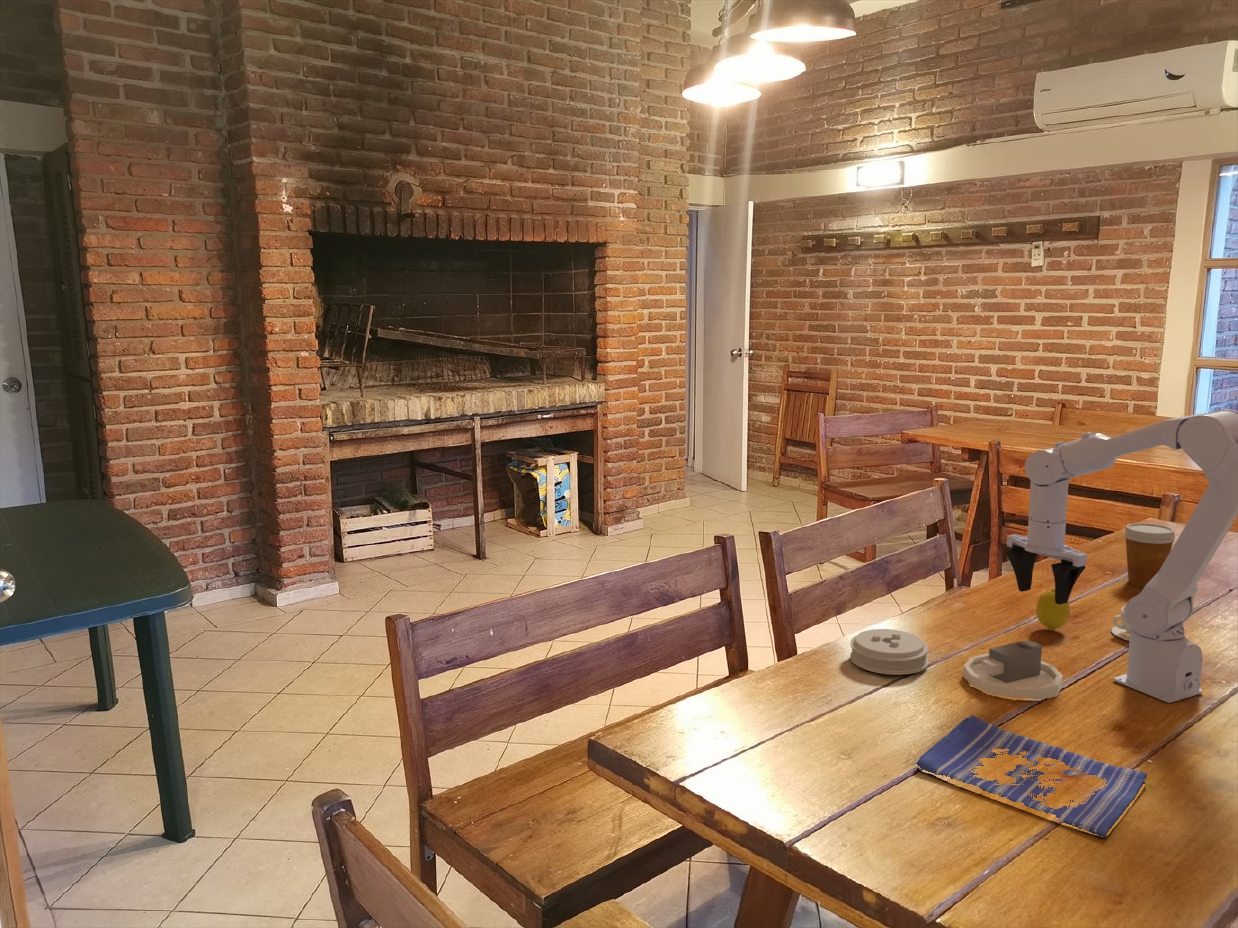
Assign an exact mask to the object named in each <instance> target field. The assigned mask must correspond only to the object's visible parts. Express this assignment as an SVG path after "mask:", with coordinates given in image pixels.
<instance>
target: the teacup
mask: <svg viewBox="0 0 1238 928" xmlns="http://www.w3.org/2000/svg"><path fill="white" fill-rule="evenodd" d="M1125 607H1126V605H1124V606H1122V607H1121V608H1120V614H1117V615H1115V616H1114V617H1113V621H1112V622H1113V624H1114V626H1113V627H1112V628H1111V629H1110V631H1111V633H1112V634H1113V635H1114V636H1115V637H1118V638H1120V639H1123V640H1125V641H1127V642H1130V637H1127V636H1126V635H1124V634H1123V635H1121V634H1119V633H1129V634H1130V629H1131V627H1130V626H1129V624H1128V623H1127V621H1126V618H1125ZM1118 619H1120V620H1121V623H1122V624H1118V622H1117V620H1118Z"/></svg>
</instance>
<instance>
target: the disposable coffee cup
mask: <svg viewBox="0 0 1238 928" xmlns="http://www.w3.org/2000/svg"><path fill="white" fill-rule="evenodd" d="M1122 533H1123V534H1124V537H1125V548H1126V549H1125V550H1126V564H1127V577H1128V578H1127V579H1128V583H1129V584H1130V585H1133V586H1135V587H1139V588H1144V587H1145V586H1146V584H1147V583H1148V582H1149V581H1150V580H1151V579H1152V578H1153V577H1154V576H1155V575H1156V574H1157V573H1158V572H1159V570H1160V569H1161V567H1162V565H1163V563H1164V562H1165V560H1166V558H1167V557H1168V555H1169V553H1170V551H1171V550H1172V548H1173V545H1174V544H1173V543H1174V542H1175V540H1176V539H1177V535H1176V534H1175V530H1174V529H1173V528H1172V527H1169V526H1166V525H1162V524H1156V523H1145V522H1135V523H1128V524H1127V525H1126V527H1125V529H1124V530H1123V532H1122Z"/></svg>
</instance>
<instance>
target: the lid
mask: <svg viewBox="0 0 1238 928" xmlns="http://www.w3.org/2000/svg"><path fill="white" fill-rule="evenodd" d="M850 647H851V652H850V654H849V657H850V661H851V662H852V663H853V664H854V665H855V666H857V667H859V668H861V669H863V670H866V671H869V672H873V673H876V674H877V673H879V674H881V675H882V674H883V675H884V674H885V675H892V676H893V675H894V676H896V675H899V676H901V675H910V674H911V675H912V674H917V673H919V672H922V671H923V670H925V669H927V668H928V666H929V660H928V658H927V657H928V654H929V650H930V649H929V645H928V644H927V643H926V642H925V641H924V640H923V639H922V638H920V637H919V636H917V635H916V634H913V633H911V632H907V631H905V630H904V631H903V630H898V629H890V628H874V629H869V630H863V631H861V632H859V633H858V634H857V635H855V636H854V637H852V638H851V639H850Z"/></svg>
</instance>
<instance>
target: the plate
mask: <svg viewBox="0 0 1238 928" xmlns="http://www.w3.org/2000/svg"><path fill="white" fill-rule="evenodd" d="M987 659H989V652H988V653H983V654H978V655H975V656H971V657H969V658H968V660H967V661H966V662H965V663H964V664H963V676H964V677H966V679H967V680H968V682H969V684H970V685H972V686H975V687H978V688H980V689H981V690H983V691H985V692H987V693H989V694H990V693H991V694H994V695H1003V696H1007V697H1013V698H1033V699H1046V698H1050V699H1052V698H1051V697H1054V698H1056V697H1055V696H1057V697H1058V696H1059V694H1060V693H1059V692H1061V691H1062V689H1063V680H1064V679H1063V678H1064V675H1063V674H1062V673H1061V672H1060V671H1059V670H1058V669H1057V668H1056V667H1055V665H1052V664H1050V663H1047V662H1045V661H1042V660H1041V671H1040V675H1038V676H1034V677H1030V678H1026V679H1022V680H1018V681H1014V682H1010V683H1005V682H1003V681H1001V680H999V679H997V678H995V677H992V676H990V675H988V673H986V672H984V671H982V670H981V668H982V661H983V660H987ZM964 677H963V678H964ZM969 684H968V685H969ZM1061 688H1062V689H1061ZM1060 690H1061V691H1060Z"/></svg>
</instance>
